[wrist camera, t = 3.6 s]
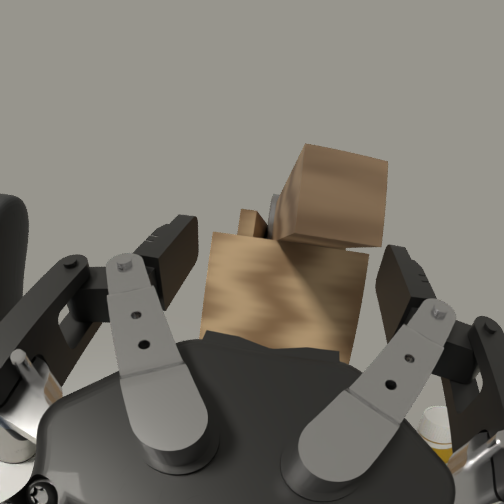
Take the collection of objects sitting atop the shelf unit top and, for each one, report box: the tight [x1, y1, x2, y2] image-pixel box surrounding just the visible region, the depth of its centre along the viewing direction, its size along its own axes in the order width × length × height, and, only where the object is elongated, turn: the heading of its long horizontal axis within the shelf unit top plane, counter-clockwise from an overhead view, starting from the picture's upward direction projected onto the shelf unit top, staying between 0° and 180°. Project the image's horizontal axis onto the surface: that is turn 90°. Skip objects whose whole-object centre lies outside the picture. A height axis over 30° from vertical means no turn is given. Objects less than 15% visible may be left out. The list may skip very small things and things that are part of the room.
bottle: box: [417, 406, 453, 465], centre depth 26 cm, size 7×7×15 cm
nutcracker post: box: [199, 209, 369, 365], centre depth 28 cm, size 14×12×34 cm
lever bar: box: [266, 144, 388, 248], centre depth 23 cm, size 21×5×5 cm, turn 0°
